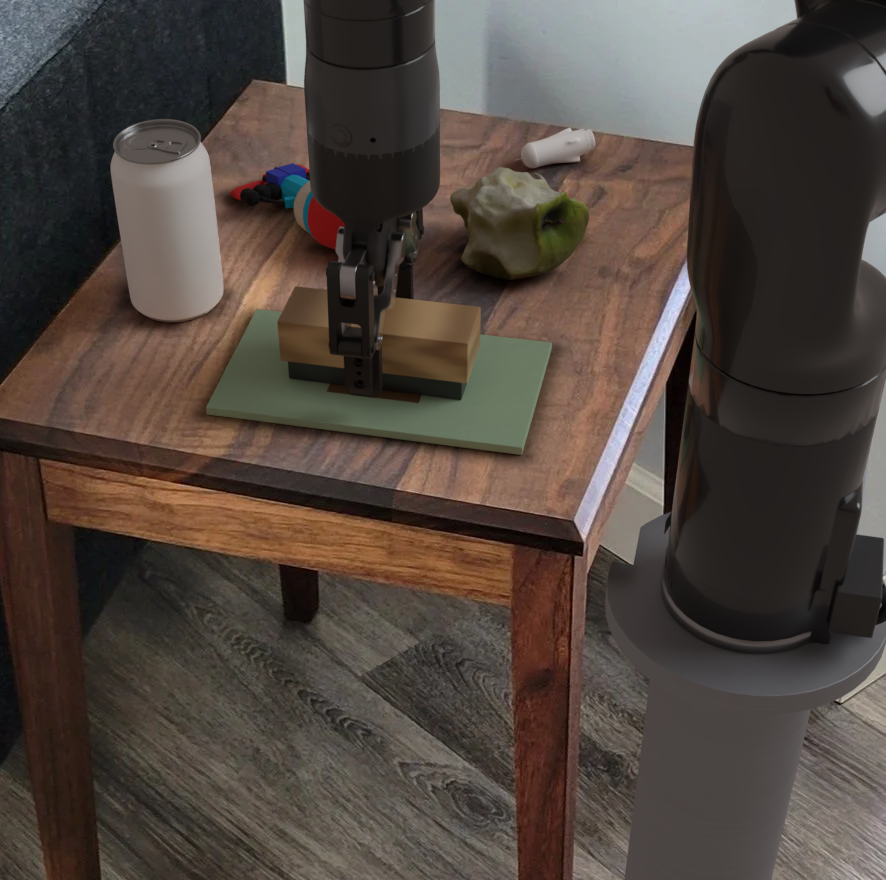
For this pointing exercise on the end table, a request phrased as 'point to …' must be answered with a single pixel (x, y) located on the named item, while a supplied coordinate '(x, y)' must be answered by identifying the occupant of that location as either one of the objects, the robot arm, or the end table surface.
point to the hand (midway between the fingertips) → (380, 352)
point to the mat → (389, 395)
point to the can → (167, 220)
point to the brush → (387, 344)
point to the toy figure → (293, 200)
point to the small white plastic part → (558, 148)
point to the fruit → (518, 224)
